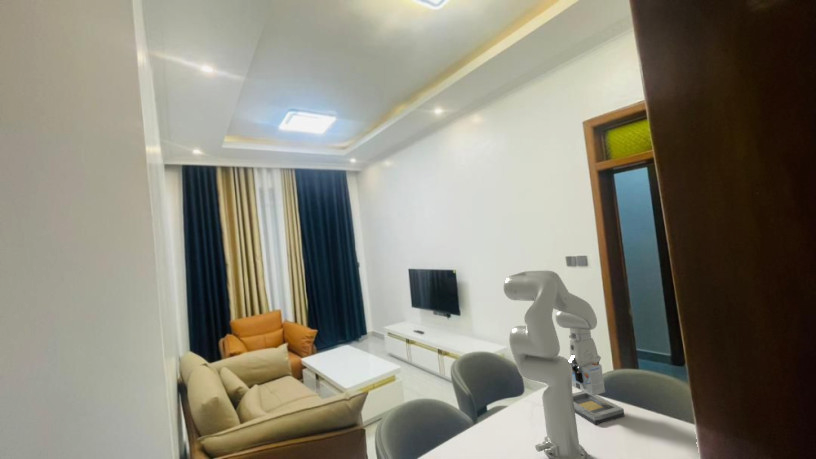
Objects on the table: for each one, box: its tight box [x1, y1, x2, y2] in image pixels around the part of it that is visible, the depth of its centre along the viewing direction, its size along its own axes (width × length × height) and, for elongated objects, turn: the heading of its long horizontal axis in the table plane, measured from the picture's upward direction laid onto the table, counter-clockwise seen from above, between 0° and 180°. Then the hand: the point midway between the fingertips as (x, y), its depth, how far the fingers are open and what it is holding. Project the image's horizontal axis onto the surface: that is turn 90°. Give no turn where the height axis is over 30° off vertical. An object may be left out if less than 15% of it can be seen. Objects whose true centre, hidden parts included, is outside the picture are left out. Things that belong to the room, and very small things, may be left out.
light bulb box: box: [572, 363, 606, 396], centre depth 129 cm, size 11×7×11 cm, turn 17°
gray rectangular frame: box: [572, 390, 625, 426], centre depth 128 cm, size 14×18×3 cm
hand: (586, 379), depth 128 cm, fingers closed on light bulb box, 6 cm apart
